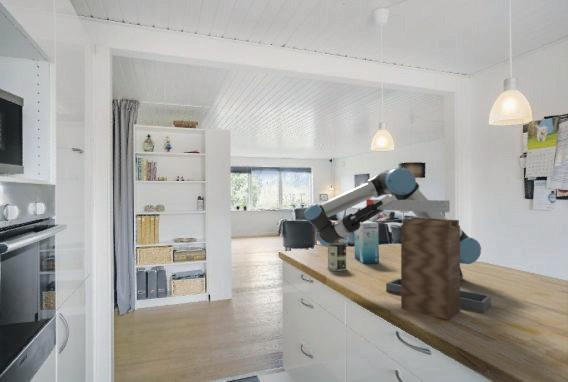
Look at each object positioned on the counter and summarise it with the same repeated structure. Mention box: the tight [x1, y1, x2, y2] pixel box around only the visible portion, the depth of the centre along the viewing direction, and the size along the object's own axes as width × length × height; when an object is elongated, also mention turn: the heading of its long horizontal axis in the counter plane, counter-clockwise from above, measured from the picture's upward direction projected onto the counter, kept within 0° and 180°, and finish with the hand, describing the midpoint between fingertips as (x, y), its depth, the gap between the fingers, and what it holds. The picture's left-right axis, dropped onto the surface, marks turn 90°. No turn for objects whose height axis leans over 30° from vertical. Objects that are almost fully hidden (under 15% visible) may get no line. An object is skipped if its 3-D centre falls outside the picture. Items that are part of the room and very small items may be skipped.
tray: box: [385, 278, 492, 314], centre depth 130 cm, size 36×11×4 cm, turn 46°
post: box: [400, 217, 461, 321], centre depth 117 cm, size 16×12×32 cm
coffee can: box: [327, 241, 347, 272], centre depth 180 cm, size 10×10×14 cm
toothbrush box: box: [353, 220, 380, 264], centre depth 203 cm, size 18×10×24 cm, turn 4°
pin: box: [365, 199, 451, 213], centre depth 123 cm, size 30×4×4 cm, turn 46°
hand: (392, 198), depth 126 cm, fingers closed on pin, 4 cm apart
